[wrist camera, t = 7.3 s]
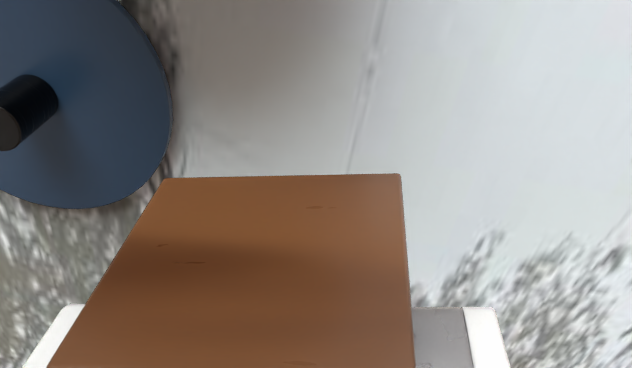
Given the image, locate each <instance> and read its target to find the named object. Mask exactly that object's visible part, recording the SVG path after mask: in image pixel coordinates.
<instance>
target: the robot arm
mask: <svg viewBox="0 0 632 368" xmlns="http://www.w3.org/2000/svg"><path fill="white" fill-rule="evenodd" d="M84 306H85V304H72V303H70V304H69V305H67V306H66V307H64V308H62V310H61V311H60V312H59V314H58V315H57V317H56V318H55V320H54V321H53V323H52V324H51V326H50V327H49V329H48V330H47V332H46V333H45V335H44V336H43V338H42V339H41V341H40V342H39V343H38V345H37V346H36V348H35V349H34V351H33V352H32V354H31V355H30V357H29V358H28V360H27V361H26V363H25V364H24V366H23V367H22V368H46V367H47V365H48V363H49V361H50V360H51V358H52V357H53V355H54V353H55V352H56V350H57V349H58V347H59V345H60V344H61V342H62V341H63V339H64V337H65V336H66V334H67V333H68V331H69V329H70V328H71V326H72V325H73V323H74V321H75V320H76V318H77V317H78V315H79V313H80V312H81V310H82V309H83V307H84ZM411 308H412V321H413V333H414V346H415V358H416V368H511V367H510V363H509V360H508V356H507V352H506V348H505V345H504V341H503V337H502V333H501V330H500V326H499V322H498V318H497V314H496V311H495V310H494V309H493V308H492V307H461V308H460V307H411Z"/></svg>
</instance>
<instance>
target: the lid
mask: <svg viewBox="0 0 632 368" xmlns="http://www.w3.org/2000/svg"><path fill="white" fill-rule="evenodd" d="M172 122H173V114H172V100H171V94H170V89H169V85H168V81H167V78H166V75H165V72H164V69H163V67H162V64H161V62H160V60H159V58H158V55H157V53H156V51H155V49H154V48H153V46H152V44H151V43H150V41H149V39H148V38H147V36H146V34H145V33H144V32H143V30H142V29H141V28H140V26H139V25H138V24H137V22H136V21H135V20H134V18H133V17H132V16H131V15H130V14H129V13H128V12H127V11H126V10H125V9H124V7H123V6H122V5H121V4H120V3H119V2H118V1H117V0H0V190H2V191H4V192H7V193H9V194H11V195H13V196H15V197H18V198H21V199H24V200H27V201H29V202H32V203H36V204H40V205H44V206H49V207H56V208H63V209H85V208H95V207H99V206H104V205H108V204H111V203H114V202H116V201H119V200H121V199H123V198H125V197H127V196H129V195H131V194H132V193H134V192H135V191H136V190H138V189H139V188H140V187H142V186H143V185H144V184H145V183H146V182H147V181H148V180H149V179H150V177H151V176H152V175H153V174H154V172H155V171H156V169H157V168H158V166H159V165H160V163H161V162H162V159H163V157H164V155H165V153H166V151H167V148H168V144H169V141H170V137H171V131H172Z"/></svg>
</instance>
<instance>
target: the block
mask: <svg viewBox="0 0 632 368" xmlns="http://www.w3.org/2000/svg"><path fill="white" fill-rule="evenodd" d="M46 368H416V358H415V346H414V333H413V321H412V308H411V295H410V283H409V270H408V258H407V245H406V232H405V220H404V207H403V195H402V182H401V176H400V174H398V173H394V174H344V175H295V176H246V177H197V178H165V179H163V181H162V183H161V184H160V186H159V187H158V189H157V191H156V192H155V194H154V195H153V197H152V199H151V200H150V202H149V203H148V205H147V206H146V208H145V210H144V211H143V213H142V214H141V216H140V218H139V219H138V221H137V222H136V224H135V226H134V227H133V229H132V230H131V232H130V234H129V235H128V237H127V238H126V240H125V242H124V243H123V245H122V246H121V248H120V250H119V251H118V253H117V254H116V256H115V258H114V259H113V261H112V262H111V264H110V266H109V267H108V269H107V270H106V272H105V274H104V275H103V277H102V278H101V280H100V282H99V283H98V285H97V286H96V288H95V290H94V291H93V293H92V294H91V296H90V298H89V299H88V301H87V302H86V304H85V306H84V307H83V309H82V310H81V312H80V313H79V315H78V317H77V318H76V320H75V321H74V323H73V325H72V326H71V328H70V329H69V331H68V333H67V334H66V336H65V337H64V339H63V341H62V342H61V344H60V345H59V347H58V349H57V350H56V352H55V353H54V355H53V357H52V358H51V360H50V361H49V363H48V365H47V367H46Z"/></svg>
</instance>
